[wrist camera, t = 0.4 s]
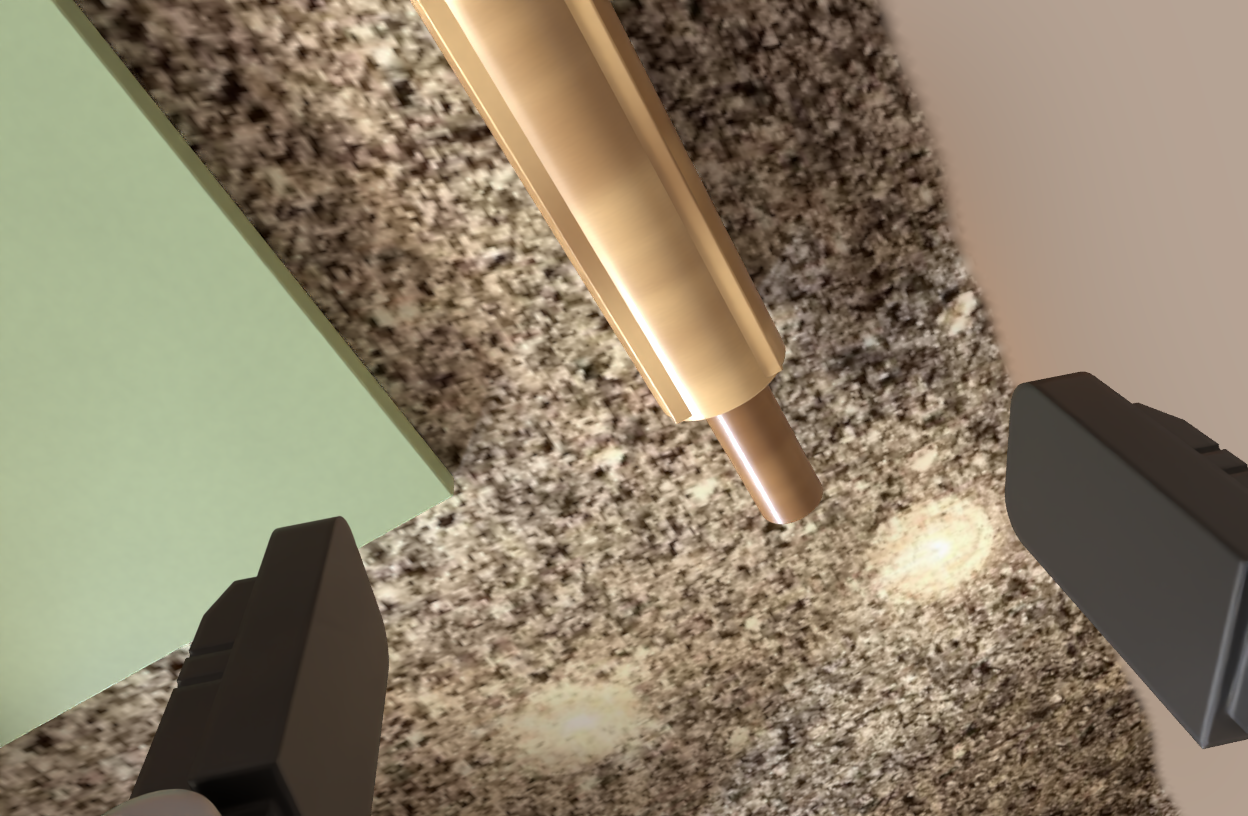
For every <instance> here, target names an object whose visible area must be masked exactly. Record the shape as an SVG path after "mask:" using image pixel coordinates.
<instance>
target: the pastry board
mask: <svg viewBox="0 0 1248 816" xmlns="http://www.w3.org/2000/svg"><path fill="white" fill-rule="evenodd" d="M453 493H454V478H453V476H452V475H451V474H450V473H449V471H448V470H447V469H446V468H445V466H444V465H443V464H442V462H441V461H440V460H439V459H438V457H437V456H436V455H435V454H434V452H433V451H432V450H431V449H430V447H429V446H428V445H427V444H426V442H425V441H424V440H423V439H422V437H421V436H420V435H419V434H418V432H417V431H416V430H415V429H414V427H413V426H412V425H411V424H410V422H409V421H408V420H407V419H406V417H405V416H404V415H403V414H402V412H401V411H400V410H399V409H398V407H397V406H396V405H395V403H394V402H393V401H392V400H391V398H390V397H389V396H388V395H387V393H386V392H385V391H384V390H383V388H382V387H381V386H380V385H379V383H378V382H377V381H376V380H375V378H374V377H373V376H372V375H371V373H370V372H369V371H368V370H367V368H366V367H365V366H364V365H363V363H362V362H361V361H360V360H359V358H358V357H357V356H356V355H355V353H354V352H353V351H352V350H351V348H350V347H349V346H348V345H347V343H346V342H345V341H344V339H343V338H342V337H341V336H340V334H339V333H338V332H337V331H336V329H335V328H334V327H333V326H332V324H331V323H330V322H329V321H328V319H327V318H326V317H325V316H324V314H323V313H322V312H321V311H320V309H319V308H318V307H317V306H316V304H315V303H314V302H313V301H312V299H311V298H310V297H309V296H308V294H307V293H306V292H305V291H304V289H303V288H302V287H301V286H300V284H299V283H298V282H297V281H296V279H295V278H294V277H293V275H292V274H291V273H290V272H289V270H288V269H287V268H286V267H285V265H284V264H283V263H282V262H281V260H280V259H279V258H278V257H277V255H276V254H275V253H274V252H273V250H272V249H271V248H270V247H269V245H268V244H267V243H266V242H265V240H264V239H263V238H262V237H261V235H260V234H259V233H258V232H257V230H256V229H255V228H254V227H253V225H252V224H251V223H250V222H249V220H248V219H247V218H246V216H245V215H244V214H243V213H242V211H241V210H240V209H239V208H238V206H237V205H236V204H235V203H234V201H233V200H232V199H231V198H230V196H229V195H228V194H227V193H226V191H225V190H224V189H223V188H222V186H221V185H220V184H219V183H218V181H217V180H216V179H215V178H214V176H213V175H212V174H211V173H210V171H209V170H208V169H207V168H206V166H205V165H204V164H203V163H202V161H201V160H200V159H199V158H198V156H197V155H196V154H195V152H194V151H193V150H192V149H191V147H190V146H189V145H188V144H187V142H186V141H185V140H184V139H183V137H182V136H181V135H180V134H179V132H178V131H177V130H176V129H175V127H174V126H173V125H172V124H171V122H170V121H169V120H168V119H167V117H166V116H165V115H164V114H163V112H162V111H161V110H160V109H159V107H158V106H157V105H156V104H155V102H154V101H153V100H152V99H151V97H150V96H149V95H148V93H147V92H146V91H145V90H144V88H143V87H142V86H141V85H140V83H139V82H138V81H137V80H136V78H135V77H134V76H133V75H132V73H131V72H130V71H129V70H128V68H127V67H126V66H125V65H124V63H123V62H122V61H121V60H120V58H119V57H118V56H117V55H116V53H115V52H114V51H113V50H112V48H111V47H110V46H109V45H108V43H107V42H106V41H105V40H104V38H103V37H102V36H101V35H100V33H99V32H98V31H97V29H96V28H95V27H94V26H93V24H92V23H91V22H90V21H89V19H88V18H87V17H86V16H85V14H84V13H83V12H82V11H81V9H80V8H79V7H78V6H77V4H76V3H75V2H74V1H73V0H0V748H1V747H3V746H5V745H6V744H8V743H10V742H12V741H14V740H15V739H17V738H19V737H21V736H23V735H24V734H26V733H28V732H30V731H32V730H33V729H35V728H37V727H39V726H41V725H42V724H44V723H46V722H48V721H50V720H51V719H53V718H55V717H57V716H59V715H60V714H62V713H64V712H66V711H67V710H69V709H71V708H73V707H75V706H76V705H78V704H80V703H82V702H84V701H85V700H87V699H89V698H91V697H93V696H94V695H96V694H98V693H100V692H102V691H103V690H105V689H107V688H109V687H111V686H112V685H114V684H116V683H118V682H120V681H121V680H123V679H125V678H127V677H129V676H130V675H132V674H134V673H136V672H138V671H139V670H141V669H143V668H145V667H146V666H148V665H150V664H152V663H154V662H155V661H157V660H159V659H161V658H163V657H164V656H166V655H168V654H170V653H172V652H173V651H175V650H177V649H179V648H181V647H182V646H184V645H186V644H188V643H190V642H191V641H193V639H194V637H195V634H196V632H197V629H198V627H199V624H200V622H201V619H202V617H203V615H204V614H205V613H206V612H207V610H208V609H209V608H210V607H211V606H212V605H213V604H214V603H215V602H216V601H217V599H218V598H219V597H220V596H221V595H222V594H223V593H224V592H225V591H226V589H227V588H228V587H229V586H230V585H231V584H232V583H233V582H234V581H236V580H241V579H246V578H251V577H256V576H257V574H258V571H259V568H260V566H261V563H262V560H263V557H264V554H265V551H266V548H267V545H268V542H269V539H270V536H271V534H272V532H273V531H274V530H275V529H276V528H281V527H286V526H291V525H296V524H301V523H306V522H311V521H316V520H321V519H326V518H331V517H336V516H342V517H343V518H344V519H345V520H346V521H347V523H348V524H349V527H350V529H351V531H352V534H353V536H354V539H355V542H356V545H357V548H360V547H362V546H364V545H366V544H367V543H369V542H371V541H373V540H375V539H376V538H378V537H380V536H382V535H384V534H385V533H387V532H389V531H391V530H392V529H394V528H396V527H398V526H400V525H401V524H403V523H405V522H407V521H409V520H410V519H412V518H414V517H416V516H418V515H419V514H421V513H423V512H425V511H427V510H428V509H430V508H432V507H434V506H436V505H437V504H439V503H441V502H443V501H445V500H446V499H448V498H450V497H452V496H453Z"/></svg>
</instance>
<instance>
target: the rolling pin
mask: <svg viewBox="0 0 1248 816" xmlns="http://www.w3.org/2000/svg"><path fill="white" fill-rule="evenodd" d="M410 1H411V3H412V4H413V6H414V8H415V9H416V11H417V13H418V14H419V16H420V17H421V19H422V21H423V22H424V24H425V26H426V27H427V29H428V30H429V32H430V34H431V35H432V37H433V39H434V40H435V42H436V43H437V45H438V47H439V48H440V50H441V52H442V53H443V55H444V56H445V58H446V60H447V61H448V63H449V65H450V66H451V68H452V69H453V71H454V73H455V74H456V76H457V78H458V79H459V81H460V82H461V84H462V86H463V87H464V89H465V90H466V92H467V94H468V95H469V97H470V99H471V100H472V102H473V103H474V105H475V107H476V108H477V110H478V112H479V113H480V115H481V116H482V118H483V120H484V121H485V123H486V125H487V126H488V128H489V129H490V131H491V133H492V134H493V136H494V138H495V139H496V141H497V142H498V144H499V146H500V147H501V149H502V151H503V152H504V154H505V155H506V157H507V159H508V160H509V162H510V164H511V165H512V167H513V168H514V170H515V172H516V173H517V175H518V176H519V178H520V180H521V181H522V183H523V185H524V186H525V188H526V189H527V191H528V193H529V194H530V196H531V198H532V199H533V201H534V202H535V204H536V206H537V207H538V209H539V211H540V212H541V214H542V215H543V217H544V219H545V220H546V222H547V224H548V225H549V227H550V228H551V230H552V232H553V233H554V235H555V237H556V238H557V240H558V241H559V243H560V245H561V246H562V248H563V250H564V251H565V253H566V254H567V256H568V258H569V259H570V261H571V262H572V264H573V266H574V267H575V269H576V271H577V272H578V274H579V275H580V277H581V279H582V280H583V282H584V284H585V285H586V287H587V288H588V290H589V292H590V293H591V295H592V297H593V298H594V300H595V301H596V303H597V305H598V306H599V308H600V310H601V311H602V313H603V314H604V316H605V318H606V319H607V321H608V323H609V324H610V326H611V327H612V329H613V331H614V332H615V334H616V336H617V337H618V339H619V340H620V342H621V344H622V345H623V347H624V349H625V350H626V352H627V353H628V355H629V357H630V358H631V360H632V361H633V363H634V365H635V366H636V368H637V370H638V371H639V373H640V374H641V376H642V378H643V379H644V381H645V383H646V384H647V386H648V387H649V389H650V391H651V392H652V394H653V396H654V397H655V399H656V400H657V402H658V404H659V405H660V407H661V409H662V410H663V411H664V413H665V414H667V415H668V416H669V417H671V418H673V420H674V421H675V422H676V423H680V422H682V421H697V420H703V419H706V420H707V422H708V423H709V425H710V427H711V429H712V430H713V432H714V434H715V435H716V437H717V439H718V440H719V442H720V444H721V445H722V447H723V449H724V451H725V452H726V454H727V456H728V457H729V459H730V461H731V462H732V464H733V466H734V468H735V469H736V471H737V473H738V474H739V476H740V478H741V479H742V481H743V483H744V484H745V486H746V488H747V490H748V491H749V493H750V495H751V496H752V498H753V500H754V501H755V503H756V505H757V507H758V508H759V510H760V512H761V513H762V515H763V517H764V518H765V519H766V520H768V521H770V522H772V523H776V524H787V523H792V522H795V521H797V520H800V519H802V518H804V517H805V516H807V515H808V514H810V513H811V512H812V511H813V510H814V509H815V508H816V507H817V506H818V504H819V503H820V501H821V498H822V495H823V488H822V485H821V483H820V481H819V479H818V477H817V475H816V473H815V472H814V470H813V468H812V466H811V464H810V462H809V460H808V459H807V457H806V455H805V453H804V451H803V449H802V447H801V445H800V444H799V442H798V440H797V438H796V436H795V434H794V432H793V430H792V429H791V427H790V425H789V423H788V421H787V419H786V417H785V415H784V414H783V412H782V410H781V408H780V406H779V404H778V402H777V401H776V399H775V397H774V395H773V393H772V391H771V389H770V387H769V386H768V384H769V383H770V382H771V381H772V380H773V378H774V377H775V376H776V375H777V373H778V372H780V371H782V370H783V367H782V364H783V362H784V359H785V352H786V351H785V345H784V342H783V340H782V338H781V336H780V334H779V332H778V330H777V328H776V326H775V324H774V322H773V320H772V318H771V317H770V315H769V313H768V311H767V309H766V307H765V305H764V303H763V301H762V299H761V297H760V295H759V293H758V291H757V289H756V287H755V285H754V283H753V281H752V279H751V277H750V275H749V273H748V271H747V269H746V267H745V265H744V264H743V262H742V260H741V258H740V256H739V254H738V252H737V250H736V248H735V246H734V244H733V242H732V240H731V238H730V236H729V234H728V232H727V230H726V228H725V226H724V224H723V222H722V220H721V218H720V216H719V214H718V212H717V211H716V209H715V207H714V205H713V203H712V201H711V199H710V197H709V195H708V193H707V191H706V189H705V187H704V185H703V183H702V181H701V179H700V177H699V175H698V173H697V171H696V169H695V167H694V165H693V163H692V161H691V159H690V157H689V156H688V154H687V152H686V150H685V148H684V146H683V144H682V142H681V140H680V138H679V136H678V134H677V132H676V130H675V128H674V126H673V124H672V122H671V120H670V118H669V116H668V114H667V112H666V110H665V108H664V106H663V104H662V103H661V101H660V99H659V97H658V95H657V93H656V91H655V89H654V87H653V85H652V83H651V81H650V79H649V77H648V75H647V73H646V71H645V69H644V67H643V65H642V63H641V61H640V59H639V57H638V55H637V53H636V51H635V50H634V48H633V46H632V44H631V42H630V40H629V38H628V36H627V34H626V32H625V30H624V28H623V26H622V24H621V22H620V20H619V18H618V16H617V14H616V12H615V10H614V8H613V6H612V4H611V2H610V0H410Z"/></svg>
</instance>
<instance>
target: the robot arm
mask: <svg viewBox="0 0 1248 816" xmlns="http://www.w3.org/2000/svg"><path fill="white" fill-rule="evenodd" d="M1005 502H1006V508H1007V512H1008V516H1009V519H1010V522H1011V525H1012V527H1013V529H1014V531H1015V533H1016V535H1017V537H1018V538H1019V540H1020V541H1021V543H1022V544H1023V545H1024V546H1025V547H1026V548H1027V550H1028V551H1029V552H1030V553H1031V554H1032V555H1033V556H1034V558H1035V559H1036V560H1037V561H1038V562H1039V563H1040V564H1041V566H1042V567H1043V568H1044V569H1045V570H1046V571H1047V572H1048V574H1049V575H1050V576H1051V577H1052V578H1053V579H1054V580H1055V582H1056V583H1057V584H1058V585H1059V586H1060V587H1061V588H1062V589H1063V591H1064V592H1065V593H1066V594H1067V595H1068V596H1069V597H1070V599H1071V600H1072V601H1073V602H1074V603H1075V604H1076V605H1077V607H1078V608H1079V609H1080V610H1081V611H1082V612H1083V613H1084V615H1085V616H1086V617H1087V618H1088V619H1089V620H1090V621H1091V623H1092V624H1093V625H1094V626H1095V627H1096V628H1097V629H1098V631H1099V632H1100V633H1101V634H1102V635H1103V636H1104V637H1105V638H1106V640H1107V641H1108V642H1109V643H1110V644H1111V645H1112V646H1113V648H1114V649H1115V650H1116V651H1117V652H1118V653H1119V654H1120V656H1121V657H1122V658H1123V659H1124V660H1125V661H1126V662H1127V664H1128V665H1129V666H1130V667H1131V668H1132V669H1133V670H1134V672H1135V673H1136V674H1137V675H1138V676H1139V677H1140V678H1141V679H1142V681H1143V682H1144V683H1145V684H1146V685H1147V686H1148V687H1149V689H1150V690H1151V691H1152V692H1153V693H1154V694H1155V695H1156V697H1157V698H1158V699H1159V700H1160V701H1161V702H1162V703H1163V704H1164V706H1165V707H1166V708H1167V709H1168V710H1169V711H1170V712H1171V714H1172V715H1173V716H1174V717H1175V718H1176V719H1177V720H1178V722H1179V723H1180V724H1181V725H1182V726H1183V727H1184V728H1185V730H1186V731H1187V732H1188V733H1189V734H1190V735H1191V736H1192V738H1193V739H1194V740H1195V741H1196V742H1197V743H1198V744H1199V745H1200V747H1201V748H1202V749H1206V748H1210V747H1215V746H1219V745H1224V744H1228V743H1233V742H1237V741H1242V740H1246V739H1248V467H1247V464H1246V463H1245V462H1243V461H1242V460H1240V459H1239V458H1237V457H1236V456H1234V455H1233V454H1232V453H1230V452H1229V451H1227V450H1226V449H1223V450H1220V449H1219V444H1218V443H1216V442H1215V441H1213V440H1212V439H1210V438H1209V437H1208V436H1206V435H1204V434H1203V433H1202V432H1200V431H1199V430H1198V429H1196V428H1195V427H1193V426H1192V425H1190V424H1189V423H1188V422H1186V421H1185V420H1183V419H1180V418H1177V417H1174V416H1172V415H1169V414H1167V413H1163V412H1161V411H1158V410H1156V409H1153V408H1151V407H1148V406H1145V405H1143V404H1140V403H1133V404H1132V403H1130V402H1129V401H1128V400H1126V399H1125V398H1124V397H1122V396H1121V395H1120V394H1118V393H1117V392H1115V391H1114V390H1113V389H1111V388H1110V387H1109V386H1107V385H1106V384H1104V383H1103V382H1102V381H1100V380H1099V379H1098V378H1096V377H1095V376H1093V375H1092V374H1090V373H1087V372H1077V373H1072V374H1067V375H1062V376H1057V377H1051V378H1046V379H1041V380H1036V381H1031V382H1026V383H1022V384H1020V385H1018V386H1017V388H1016V389H1015V390H1014V393H1013V395H1012V399H1011V408H1010V423H1009V437H1008V452H1007V467H1006V482H1005ZM189 653H190V658H186V659H185V662H184V664H183V667H182V669H181V672H180V674H179V677H178V679H177V683H178V688H175V689H173V692H172V694H171V697H170V699H169V702H168V704H167V707H166V709H165V712H164V714H163V717H162V719H161V722H160V724H159V727H158V729H157V732H156V734H155V737H154V739H153V742H152V744H151V747H150V749H149V752H148V754H147V757H146V759H145V762H144V764H143V766H142V769H141V771H140V774H139V776H138V779H137V781H136V784H135V786H134V789H133V791H132V794H131V796H130V799H129V800H128V801H126V802H124V803H122V804H120V805H118V806H116V807H114V808H113V809H111V810H109V811H108V812H106V813H104V814H103V815H101V816H371V810H372V801H373V793H374V785H375V777H376V769H377V761H378V753H379V744H380V736H381V728H382V720H383V712H384V704H385V695H386V687H387V679H388V670H389V655H388V644H387V637H386V632H385V627H384V623H383V619H382V616H381V613H380V610H379V607H378V605H377V602H376V599H375V596H374V593H373V590H372V588H371V585H370V582H369V579H368V576H367V573H366V571H365V568H364V565H363V562H362V559H361V556H360V553H359V551H358V548H357V545H356V542H355V539H354V536H353V534H352V531H351V529H350V527H349V524H348V523H347V521H346V520H345V519H344V518H343V517H342V516H336V517H331V518H326V519H321V520H316V521H311V522H306V523H301V524H296V525H291V526H286V527H281V528H276V529H275V530H274V531H273V532H272V534H271V536H270V539H269V542H268V545H267V548H266V551H265V554H264V557H263V560H262V563H261V566H260V568H259V571H258V574H257V576H256V577H251V578H246V579H241V580H236V581H234V582H233V583H232V584H231V585H230V586H229V587H228V588H227V589H226V591H225V592H224V593H223V594H222V595H221V596H220V597H219V598H218V599H217V601H216V602H215V603H214V604H213V605H212V606H211V607H210V608H209V609H208V610H207V612H206V613H205V614H204V615H203V617H202V619H201V622H200V624H199V627H198V629H197V632H196V634H195V637H194V639H193V642H192V644H191V647H190V649H189Z"/></svg>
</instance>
